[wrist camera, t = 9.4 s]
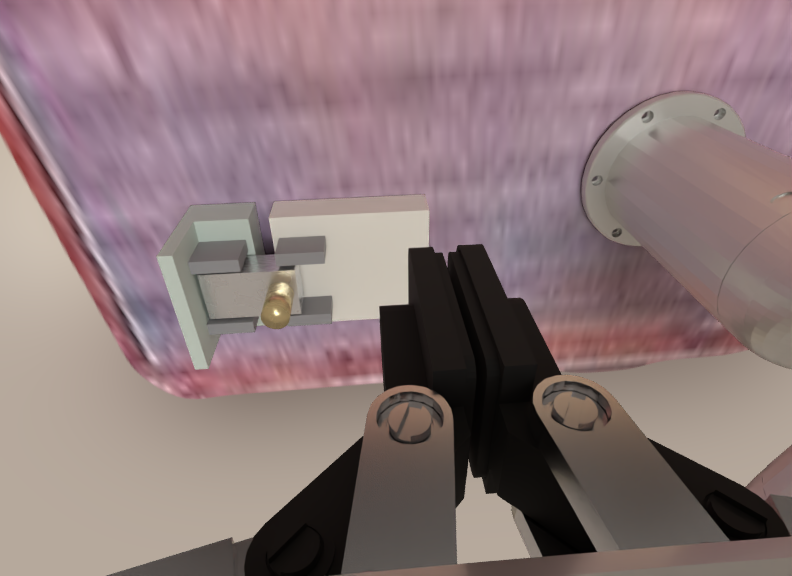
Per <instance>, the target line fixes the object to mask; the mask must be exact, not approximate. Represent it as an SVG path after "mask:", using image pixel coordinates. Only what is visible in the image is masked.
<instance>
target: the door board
mask: <svg viewBox="0 0 792 576" xmlns="http://www.w3.org/2000/svg"><path fill="white" fill-rule="evenodd" d="M269 223H270V228H271V234H272V239H273V245H274V250H275V260H276V265H277V266H291V265H300V272H301V278H302V285H303V291H304V300H303V307H302V313H301V314H291V315H290V321H289V323H288V324H287V325H288V326H301V325H318V324H332V321H347V320H364V319H380V314H379V306H386V305H404V304H408V249H409V248H419V247H429V207H428V204H427V201H426V197H425V194H423V195H401V196H380V197H359V198H337V199H316V200H295V201H274V203H273V206H272V209H271V212H270V215H269Z"/></svg>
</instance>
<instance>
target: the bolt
mask: <svg viewBox="0 0 792 576" xmlns="http://www.w3.org/2000/svg"><path fill="white" fill-rule="evenodd" d="M197 277H198V280H199V283H200V287H201V290H202V294H203V297H204V300H205V304H206V307H207V310H208V314H209V317H210V319H221V318H238V317H256V316H261V321H262V322H263V324H264V325H266V326H267V327H269V328H272V329H281V328H283V327H285V326H287V324H288V323H289V321H290V315H291V314H301V313H302V307H303V300H304V291H303V285H302V278H301V272H300V265H291V266H277V265H276V260H275V254H273V255H254V256H246V259H245V261H244V264H243V267H242V270H241V272H227V273H208V274H198V275H197Z"/></svg>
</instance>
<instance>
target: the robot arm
mask: <svg viewBox="0 0 792 576" xmlns="http://www.w3.org/2000/svg"><path fill="white" fill-rule="evenodd" d="M643 114H644V115H643ZM581 195H582V202H583V207H584V210H585V212H586V215H587V217H588V219H589V220H590V221H591V223H592V224H593V225H594V227H595V228H596V229H597V230H598V231H599V232H600V233H601V234H602V235H604V236H605V237H607V238H608V239H610V240H611V241H614V242H617V243H620V244H623V245H628V246H636V247H637V246H643V247H644V248H645V249H646V250H647V251H648V252H649V253H650V254H651V255H652V256H653V257H654V258H655V259H656V260H657V261H658V262H659V263H660V264H661V265H662V266H663V267H664V268H665V269H666V270H667V271H668V272H669V273H670V274H671V275H672V276H673V277H674V278H675V279H676V280H677V281H678V282H679V283H680V284H681V285H682V286H683V287H684V288H685V289H686V290H687V291H688V292H689V293H690V294H691V295H692V296H693V297H694V298H695V299H696V300H697V301H698V302H699V303H700V304H701V305H703V306H704V307H705V308H706V309H707V310H708V311H709V312H710V313H711V314H712V315H713V316H714V317H715V318H716V319H717V320H718V321H719V322H720V323H721V324H722V325H723V326H724V327H725V328H726V329H727V330H728V331H729V332H730V333H731V334H732V335H733V336H734V337H735V338H736V339H737V340H738V341H739V342H740V343H742V344H743V345H744V346H745V347H746V348H748V349H749V350H750V351H752V352H753V353H755V354H756V355H758V356H759V357H761V358H763V359H765V360H767V361H770V362H772V363H774V364H776V365H779V366H782V367H785V368H789V369H792V158H790V157H789V156H785V155H783V154H781V153H778V152H776V151H774V150H772V149H770V148H767V147H765V146H763V145H761V144H758V143H756V142H754V141H752V140H749V139H747V138H746V135H745V129H744V126H743V124H742V122H741V120H740V117H739V115H738V114H737V113H736V112H735V111H734V110H733V109H732V107H731V106H730V105H728V104H726V103H725V102H723V101H722V100H720V99H718V98H716V97H713V96H711V95H708V94H705V93H699V92H694V91H678V92H672V93H667V94H663V95H659V96H657V97H654V98H652V99H649V100H647V101H645V102H643V103H641V104H639V105H638V106H636V107H634V108H633V109H631V110H630V111H628V112H627V113H625V114H624V115H623V116H622V117H621V118H620V119H618V120H617V121H616V122H615V123H614V124H613V125H612V126H611V127H610V128H609V129H608V130H607V131H606V133H605V134H604V135H603V136H602V137H601V139H600V140H599V142H598V143H597V145H596V146H595V148H594V149H593V151H592V153H591V155H590V158H589V160H588V162H587V164H586V167H585V171H584V175H583V179H582V191H581ZM379 314H380V334H381V353H382V368H383V383H384V392H383V393H382V394H380V395H379V396H377V398H376V399H375V400H374V401H373V402H372V404H371V405H370V408H369V411H368V414H367V418H366V424H365V430H364V436H362V437H361V438H360V439H359V440H358V441H357V442H356V443H355V444H354V445H352V446H351V447H350V448H349V449H348V450H347V451H346V452H345V453H343V454H342V455H341V456H340V457H339V458H338V459H337V460H336V461H335V462H333V463H332V464H331V465H330V466H329V467H328V468H327V469H326V470H324V471H323V472H322V473H321V474H320V475H319V476H318V477H317V478H316V479H315V480H313V481H312V482H311V483H310V484H309V485H308V486H307V487H306V488H304V489H303V490H302V491H301V492H300V493H299V494H298V495H297V496H296V497H294V498H293V499H292V500H291V501H290V502H289V503H288V504H287V505H285V506H284V507H283V508H282V509H281V510H280V511H279V512H278V513H277V514H275V515H274V516H273V517H272V518H271V519H270V520H269V521H268V522H266V523H265V524H264V526H263V527H262V528H261V529H260V530H259V531H258V532H257V534H256V535H255V536H254V537H253V538H249V539H246V540H243V541H240V542H236V543H234V541H233V538H232V537H231V538H228V539H225V540H221V541H218V542H215V543H212V544H209V545H205V546H202V547H199V548H195V549H192V550H189V551H186V552H182V553H179V554H176V555H173V556H169V557H166V558H163V559H159V560H156V561H153V562H150V563H146V564H143V565H140V566H136V567H133V568H130V569H127V570H124V571H120V572H117V573H114V574H110V575H107V576H792V445H791V446H790V447H789V448H787V449H786V450H785V451H784V452H783V453H781V454H780V455H779V456H778V457H777V458H776V459H774V460H773V461H772V462H771V463H770V464H769V465H767V467H766V468H765V469H764V470H762V471H761V472H760V473H759V474H758V475H757V476H756V477H755V478H754V479H753V480H752V481H751V482H750V483H749V484H748V485H747V486H746V487H744V486H742V485H740V484H738V483H736V482H734V481H732V480H730V479H728V478H726V477H724V476H722V475H720V474H718V473H716V472H714V471H712V470H710V469H708V468H706V467H704V466H702V465H700V464H698V463H696V462H694V461H692V460H690V459H689V458H687V457H684V456H683V455H680V454H679V453H676V452H674V451H673V450H671V449H669V448H667V447H665V446H663V445H661V444H659V443H657V442H655V441H653V440H651V439H649V438H646V436H645V435H644V434H643V432H642V431H641V430H640V429H639V427H638V426H637V425H636V424H635V422H634V421H633V420H632V419H631V417H630V416H629V415H628V414H627V413H626V411H625V410H624V409H623V408H622V406H621V405H620V404H619V403H618V401H617V400H616V399H615V398H614V397H613V396H612V395H611V394H610V393H609V392H608V391H607V390H606V389H605V388H603V387H602V386H600V385H598V384H597V383H595V382H594V381H591V380H588V379H585V378H583V377H579V376H572V375H561V373H560V371H559V369H558V367H557V365H556V363H555V361H554V359H553V357H552V355H551V353H550V351H549V349H548V347H547V345H546V343H545V341H544V339H543V337H542V335H541V333H540V331H539V329H538V327H537V325H536V323H535V321H534V319H533V317H532V315H531V313H530V311H529V309H528V307H527V305H526V303H525V302H524V300H523V299H522V298H507V296H506V294H505V292H504V290H503V287H502V285H501V283H500V281H499V279H498V276H497V274H496V272H495V270H494V268H493V265H492V263H491V261H490V259H489V257H488V254H487V252H486V250H485V248H484V246H483V244H476V245H458V246H457V250H456V252H449V254H448V267H447V266H446V262H445V259H444V256H443V253H435V252H434V249H433V247H419V248H409V249H408V304H404V305H386V306H379ZM468 459H469V463H470V467H471V471H472V475H473V477H474V478H478V477H482V479H483V483H484V487H485V492H486V494H489V493H497V495H498V496H499V497H501V498H502V499H503V500H505V501H506V502H508V503H510V504H511V505H512V509H511V511H512V514H513V518H514V521H515V523H516V526H517V528H518V530H519V532H520V535H521V537H522V539H523V541H524V544H525V546H526V548H527V550H528V552H529V555H530V557H531V558H524V559H512V560H501V561H488V562H477V563H466V564H457V545H456V507H457V506H458V505H459V504H460V502H461V501H462V500H463V499H464V494H465V484H466V477H467V468H468Z"/></svg>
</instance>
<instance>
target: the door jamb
mask: <svg viewBox="0 0 792 576" xmlns="http://www.w3.org/2000/svg"><path fill="white" fill-rule="evenodd" d="M254 255H265V250H264V245H263V240H262V235H261V230H260V225H259V220H258V215H257V210H256V205H255V202H252V203H231V204H210V205H191V206H190V207H189V209H188V210H187V212H186V213H185V215H184V216H183V218H182V219H181V221H180V222H179V224H178V225H177V227H176V228H175V230H174V231H173V233H172V234H171V236H170V237H169V239H168V240H167V242H166V243H165V244H164V246H163V247H162V249H161V250H160V252H159V253H158V255H157V256H156V257H157V260H158V263H159V266H160V269H161V272H162V275H163V277H164V280H165V283H166V286H167V289H168V292H169V295H170V298H171V301H172V304H173V307H174V309H175V312H176V315H177V318H178V321H179V324H180V327H181V330H182V333H183V336H184V339H185V341H186V344H187V347H188V350H189V353H190V356H191V359H192V362H193V365H194V368H195V369H208V368H209V366H210V363H211V360H212V357H213V355H214V352H215V349H216V346H217V343H218V341H219V338H220V335H221V334H233V333H249V332H255V330H256V326H263V325H264V324H263V322H262V321H261V316H256V317H238V318H221V319H210V317H209V314H208V310H207V307H206V304H205V300H204V297H203V294H202V290H201V287H200V283H199V280H198V277H197V275H198V274H208V273H227V272H241V270H242V267H243V264H244V261H245V259H246V256H254Z"/></svg>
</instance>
